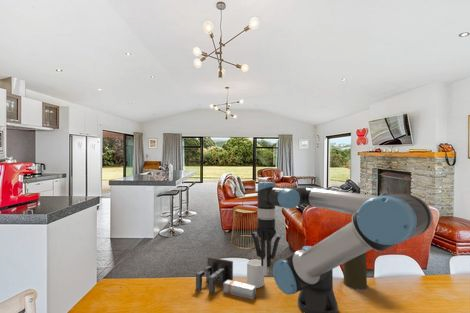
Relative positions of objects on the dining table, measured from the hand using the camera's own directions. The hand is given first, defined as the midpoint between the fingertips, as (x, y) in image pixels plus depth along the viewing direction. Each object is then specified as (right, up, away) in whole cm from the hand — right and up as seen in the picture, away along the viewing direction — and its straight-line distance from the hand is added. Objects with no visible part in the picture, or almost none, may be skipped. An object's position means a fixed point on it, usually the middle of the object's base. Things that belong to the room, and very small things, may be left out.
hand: (265, 274), depth 102 cm
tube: (-11, -11, +4) cm, 16 cm away
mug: (-3, -12, +15) cm, 19 cm away
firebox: (-24, -11, +12) cm, 29 cm away
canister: (+45, -12, +14) cm, 49 cm away
